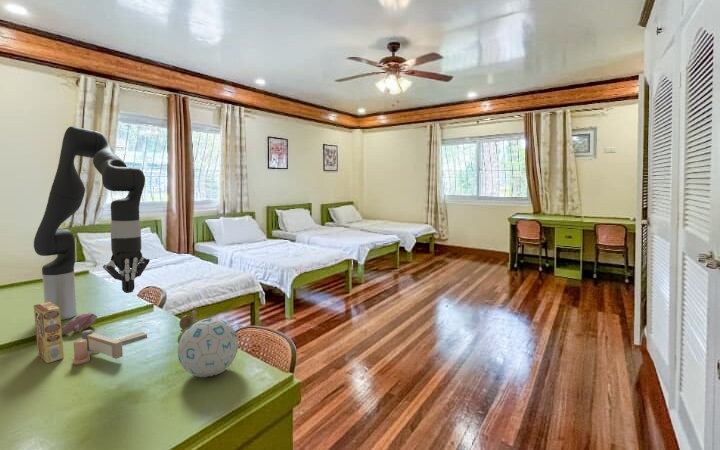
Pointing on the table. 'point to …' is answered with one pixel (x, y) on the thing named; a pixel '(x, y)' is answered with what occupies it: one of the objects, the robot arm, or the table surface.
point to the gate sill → (126, 339)
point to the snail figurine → (186, 323)
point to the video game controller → (79, 323)
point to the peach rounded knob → (80, 352)
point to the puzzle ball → (207, 347)
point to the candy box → (48, 332)
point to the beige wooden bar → (103, 344)
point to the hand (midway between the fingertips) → (128, 292)
